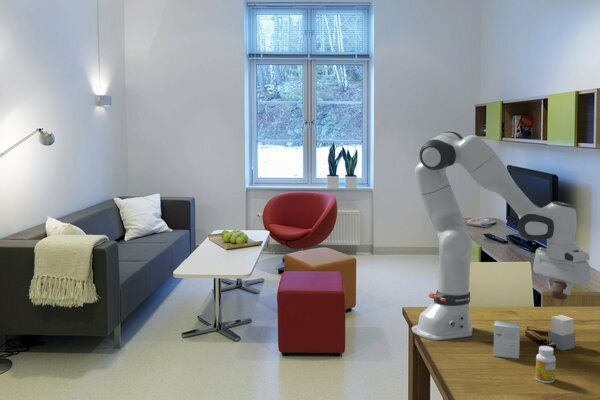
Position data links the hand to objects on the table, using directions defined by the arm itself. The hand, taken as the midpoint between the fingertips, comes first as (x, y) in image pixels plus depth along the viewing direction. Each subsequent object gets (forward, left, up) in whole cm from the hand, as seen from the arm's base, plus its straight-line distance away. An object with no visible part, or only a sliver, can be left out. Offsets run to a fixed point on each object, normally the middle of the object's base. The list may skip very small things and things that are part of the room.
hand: (559, 292), depth 210 cm
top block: (+3, +1, -15) cm, 15 cm away
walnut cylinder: (0, 0, -2) cm, 2 cm away
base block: (+3, +1, -20) cm, 20 cm away
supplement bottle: (-24, -16, -20) cm, 34 cm away
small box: (-19, +4, -20) cm, 28 cm away
